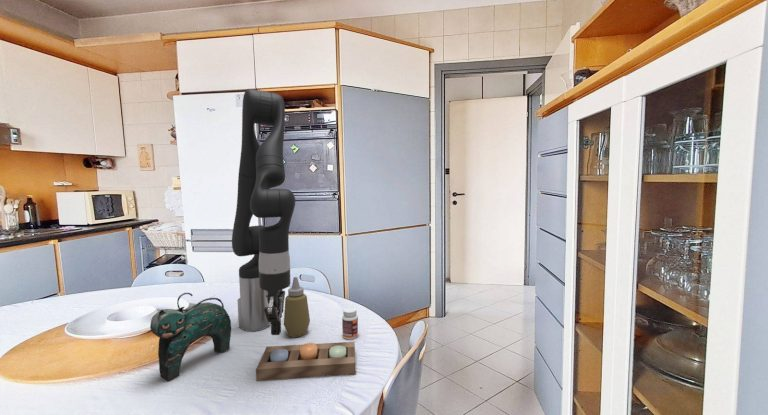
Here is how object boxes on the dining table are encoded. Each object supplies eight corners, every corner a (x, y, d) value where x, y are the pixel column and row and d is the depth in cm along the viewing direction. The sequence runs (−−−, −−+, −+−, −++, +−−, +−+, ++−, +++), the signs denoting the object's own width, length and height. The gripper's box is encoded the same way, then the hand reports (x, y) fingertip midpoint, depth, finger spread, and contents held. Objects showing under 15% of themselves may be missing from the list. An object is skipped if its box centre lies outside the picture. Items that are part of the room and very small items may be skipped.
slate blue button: (269, 369, 86) (268, 358, 86) (272, 360, 90) (272, 349, 90) (286, 368, 86) (286, 357, 86) (289, 359, 91) (289, 348, 91)
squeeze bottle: (315, 330, 110) (314, 275, 108) (299, 341, 102) (297, 282, 101) (295, 325, 113) (293, 272, 111) (278, 336, 106) (276, 279, 104)
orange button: (299, 363, 87) (298, 351, 86) (301, 354, 91) (301, 343, 91) (316, 362, 87) (316, 350, 87) (318, 353, 92) (317, 342, 91)
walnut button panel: (256, 381, 83) (255, 369, 82) (266, 357, 93) (266, 346, 93) (355, 374, 85) (355, 362, 85) (354, 351, 96) (354, 341, 96)
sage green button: (329, 365, 88) (328, 354, 87) (330, 356, 92) (329, 345, 92) (346, 364, 88) (346, 353, 88) (346, 355, 92) (346, 344, 92)
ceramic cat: (163, 387, 80) (157, 305, 79) (148, 379, 84) (142, 300, 82) (235, 349, 98) (232, 281, 96) (221, 344, 101) (218, 278, 99)
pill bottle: (355, 340, 103) (355, 313, 102) (340, 338, 104) (339, 312, 103) (359, 333, 107) (359, 307, 107) (345, 331, 108) (344, 306, 107)
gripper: (284, 276, 80) (286, 346, 81) (294, 260, 93) (295, 321, 95) (251, 276, 79) (253, 347, 81) (265, 261, 92) (267, 322, 94)
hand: (276, 333), depth 88 cm, fingers closed
